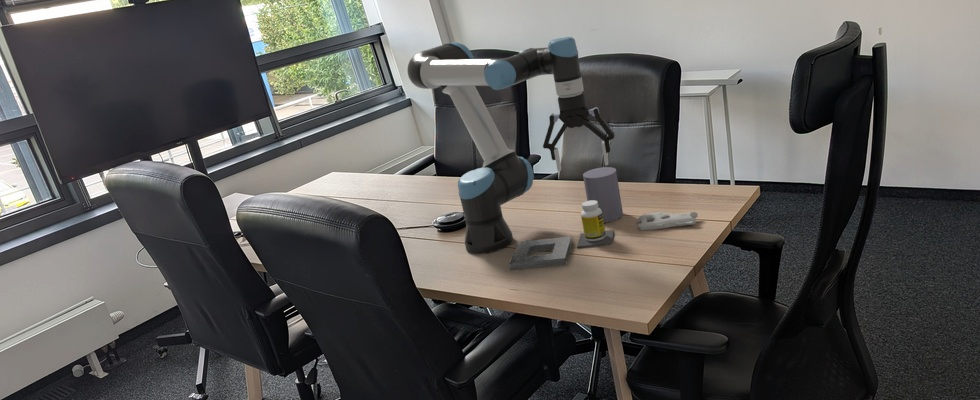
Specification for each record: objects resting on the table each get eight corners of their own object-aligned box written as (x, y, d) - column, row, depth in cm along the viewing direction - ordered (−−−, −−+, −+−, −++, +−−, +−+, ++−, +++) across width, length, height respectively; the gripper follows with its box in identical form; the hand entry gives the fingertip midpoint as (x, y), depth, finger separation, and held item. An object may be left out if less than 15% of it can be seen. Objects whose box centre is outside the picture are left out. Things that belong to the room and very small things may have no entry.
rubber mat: (577, 248, 216) (576, 246, 216) (580, 235, 225) (580, 233, 225) (611, 244, 214) (611, 242, 213) (613, 231, 223) (613, 229, 223)
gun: (697, 204, 221) (694, 217, 212) (699, 215, 222) (696, 228, 213) (636, 212, 228) (631, 224, 219) (639, 222, 229) (633, 235, 220)
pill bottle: (605, 240, 216) (599, 205, 212) (584, 243, 217) (578, 208, 214) (606, 232, 221) (600, 198, 218) (585, 235, 223) (579, 200, 220)
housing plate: (510, 270, 211) (509, 263, 210) (520, 248, 226) (519, 242, 225) (566, 264, 207) (564, 258, 206) (572, 242, 221) (571, 236, 221)
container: (584, 218, 239) (576, 174, 234) (612, 209, 242) (605, 165, 237) (601, 226, 229) (593, 180, 225) (629, 216, 232) (622, 170, 228)
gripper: (524, 104, 207) (538, 176, 213) (614, 89, 200) (626, 165, 206) (529, 98, 213) (542, 168, 220) (616, 84, 207) (627, 157, 213)
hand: (583, 167), depth 213 cm, fingers open, 13 cm apart
